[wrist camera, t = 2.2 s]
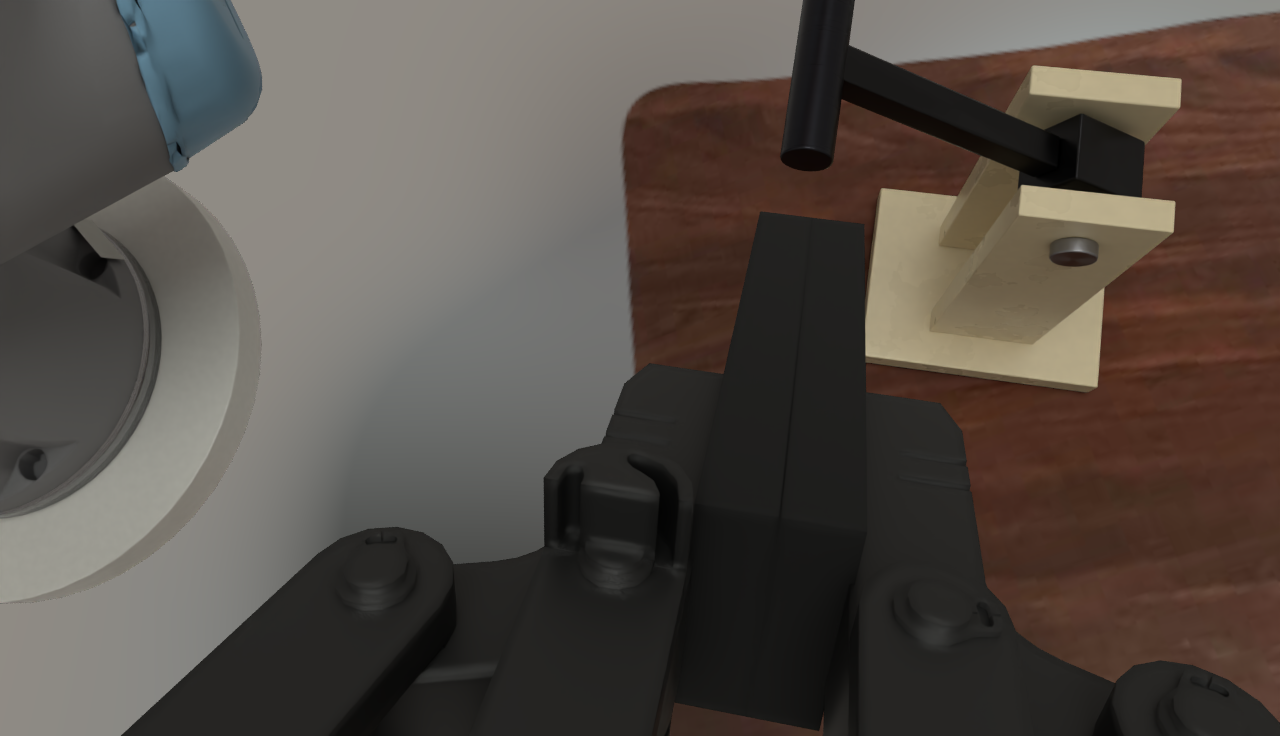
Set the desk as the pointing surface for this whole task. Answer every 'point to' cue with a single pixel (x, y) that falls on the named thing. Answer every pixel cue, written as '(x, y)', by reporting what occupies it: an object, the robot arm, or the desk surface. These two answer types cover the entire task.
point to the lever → (939, 115)
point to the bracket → (1016, 250)
